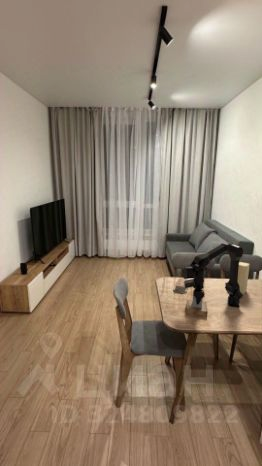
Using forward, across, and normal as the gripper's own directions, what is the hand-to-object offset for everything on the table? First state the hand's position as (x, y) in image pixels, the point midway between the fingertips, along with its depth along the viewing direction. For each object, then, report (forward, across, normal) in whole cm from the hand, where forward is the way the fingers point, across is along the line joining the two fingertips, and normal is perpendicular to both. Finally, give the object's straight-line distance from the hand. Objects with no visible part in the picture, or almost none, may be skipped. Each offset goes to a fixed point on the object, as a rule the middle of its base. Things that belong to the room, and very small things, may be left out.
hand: (197, 300), depth 153 cm
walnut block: (+7, 0, 0) cm, 7 cm away
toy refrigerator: (+7, -36, +32) cm, 49 cm away
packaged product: (+7, -33, -10) cm, 35 cm away
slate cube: (+3, 0, 0) cm, 3 cm away
